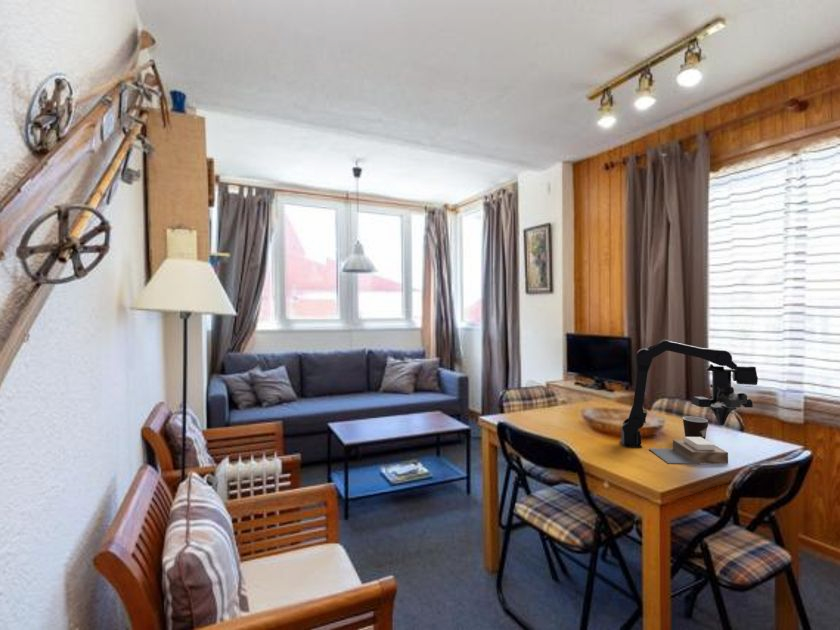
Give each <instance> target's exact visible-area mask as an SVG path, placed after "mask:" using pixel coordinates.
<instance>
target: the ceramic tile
mask: <svg viewBox="0 0 840 630" xmlns="http://www.w3.org/2000/svg"><path fill="white" fill-rule="evenodd" d="M683 440H684V442H685V443H687V444H689V445H690V446H692V447H694V448H695V449H697V450H715V446H716V444H714V443H713V442H711V441H709V440H708V439H706V438H705V439H704V438H702V437H685V436H684V437H683Z"/></svg>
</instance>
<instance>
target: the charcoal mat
mask: <svg viewBox="0 0 840 630" xmlns="http://www.w3.org/2000/svg"><path fill="white" fill-rule="evenodd" d="M648 451H651V452H652V453H653V454H654V455H655V456H657V457H658V458H660V459H661V460H662V461H664V462H665V463H666V464H667V465H701V463H699V462H692V461H690V460H689V459H687V458H686V457H684V456H683V455H681V454H680V453H678V452H677V451H675V450H674V449H673V448H648Z"/></svg>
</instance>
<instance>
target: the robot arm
mask: <svg viewBox="0 0 840 630" xmlns="http://www.w3.org/2000/svg"><path fill="white" fill-rule="evenodd" d="M667 351H669V352H672V353H677V354H681V355H682V354H683V355H685V356H691V357H695V358H700V359H703V360H705V361H707V362H710V364H709V366H707V367H706V368H705V370H706V371H708V372H711V374H712V375H711V381H712V383H711V384H709V387H710V388H711V389H712V390H711V392H712V394H711V395H709V397H710V398H707V397H706V396H692V398H691V404H692V405H694V406H696V407H700V408H710V409H711V411H712V413H713V414H714V417H715V418H716V420H717V423H718V425H721V426H724V425H725V424H726V422H727V419H728V417H729V415H730V414H731V412H732V411H734V410H737V409H740V408H741V407H743V408H754V402H753V400H752V399H751V398H748V395H747V393H744V392H741V393H736V392H735V388H734V387H733V386H732V381H733V382H736V385H743V386H744V385H745V386H758V381H759V376H758V374H757V367H756V366H754V365H748V366H746V365H738V364H737V363H735V362H734V361H733V355H732V354H731V353H730V352H729V351H727V350H726V349H723V348H715V347H714V348H712V347H709V348H708V347H699V346H694V345H691V344H690V345H689V344H685V343H679V342H675V341H671V340H668V339H663V340H661V341H660V342H657V343H655V344H653V345H651V346H649V347H643V348H640V349H639V350H638V351H637V352H636V370H637V374H636V381H635V382H636V383H635V388H634V389H635V390H634V396H633V401H632V406H631V407H630V411H629V414H628V417H627V418H626V419H625V420H623V422H622V427H621V429H620V433H621V435H620V436H621V437H620V439H621V440H620V441H619V443H620V444H621V445H622V446H623V447H624V448H643V446H642V433H641V431H640V429H641V428H643V427H644V424H647V415H648V410H647V409H644V399H645V395H646V394H645V393H646V386H647V380H648V374H649V370H650V368H651V365H652V362H653V359H654V358H657V356H660V355H661V354H663V353H664V352H667ZM712 363H713V364H715V365H716V366H715V365H713V364H712ZM725 367H727V368H725Z"/></svg>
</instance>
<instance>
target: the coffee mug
mask: <svg viewBox="0 0 840 630" xmlns="http://www.w3.org/2000/svg"><path fill="white" fill-rule="evenodd" d="M682 423H683V424H682V425H683V430H684V432H683V433H684V437H702V438H704V439H705V440H706V439H707V438H706V437H707V431H708V430H707V429H708V428H709V427H708V426H709V420H708V419H706V418H703V417H699V416H683V417H682Z"/></svg>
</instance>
